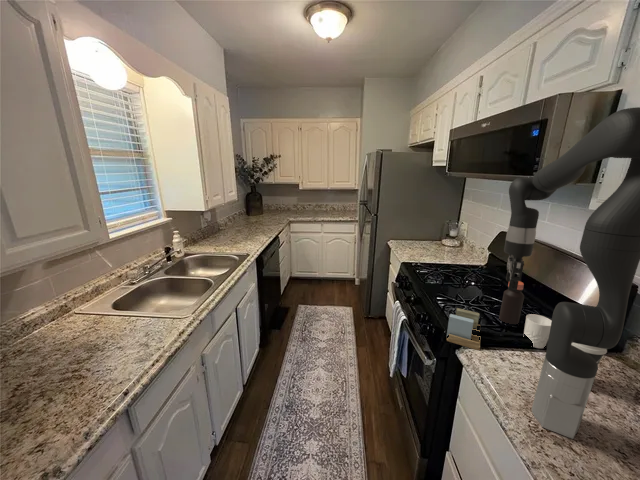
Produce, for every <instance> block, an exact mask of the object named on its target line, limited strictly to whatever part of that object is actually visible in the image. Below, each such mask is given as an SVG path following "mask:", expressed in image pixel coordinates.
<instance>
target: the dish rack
mask: <svg viewBox="0 0 640 480" xmlns="http://www.w3.org/2000/svg"><path fill="white" fill-rule="evenodd" d="M455 315H457V316H461V317H465V318H469V319H473V320H474V321H473V328H476V329H473V328H472V330H476V331H479V332H480V330H481V329H480V330H477V326H480V327H481V324H479V318H480V313H479V312H476V311H472V310H466V309H465V308H464V309H463V308H458V307H456V312H455ZM479 337H480V338H481V336H477V335H473V334H471V339H472V340H469V339H465V338H462V337H458V336H455V335H452V334H449V337H448V338H447V337H446V342H449V343H451V344H452V343H453V344H454V345H455V344H456V345H460V346H462V347H465V348H469V349H472V350H476V351H479V352H481V351H480V349H481V339H480V340H479Z"/></svg>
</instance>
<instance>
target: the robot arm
mask: <svg viewBox="0 0 640 480" xmlns="http://www.w3.org/2000/svg"><path fill="white" fill-rule="evenodd" d="M609 158H612V159H613V158H614V159H630V162H629V166H628V168H627V171H626V173H625V176H624V178H623V180H622V182H621V183H620V185H619V186H618V187H617V189H616V190H615V191H613V193H612V194H611V195H610V196H609V197H607V198H606V199H605V200H604V201H603V202H602V203H601V204H600V205H598V207H597V208H596V209H595V210H594V211H593V212H592V213H591V214H590V216H589V217H588V219H587V220H586V223H585V225H584V229H583V232H582V236H581V240H580V245H579V252H580V255H581V257H582V259H583V261H584V264H585V265H586V267H587V268H588V270H589V272H590V273H591V274H592V276H593V278H594V279H595V282H596V285H597V287H598V302H597V304H596V306H594V305H588V304H581V303H575V302H570V301H561V302H558V303H557V304H556V305H555V307H554V309H553V311H552V312H553V313H552V316H551V321H552V322H551V328H550V334H549V338H548V341H547V344H546V352H545V356H544V359H543V363H542V368H541V371H540V375H539V379H538V382H537V386H536V389H535V393H534V398H533V401H532V407H531V413H532V414H533V416H534V418H535V419H536V420H537V421H538V422H539V424H540V426H541V427H542V428H544V429H546V430H549V431H551V432H554V433H557V434H559V435H561V436H564V437H566V438H569V439H572V440H574V439H575V436H576V435H577V434H578V431H579V429H580V425H581V422H582V419H583V415H584V413H585V410H586V406H587V403H588V401H589V396H590V394H591V390H592V387H593V385H594V382H595V379H596V376H597V373H598V369H599V364H597V362H596V361H595V360H594V359H593V358H592V357H591V356H590V355H589V354H587V353H586V352H584V351H582V350H580V349H578V348H576V347H574V346H573V345H571V344H572V343H578V344H583V345H587V346H592V347H598V348H603V349H607V350H611V349H613V348H615V347H616V346H617V345H618V344H619V341H620V340H621V337H622V334H623V329H624V324H625V320H626V314H627V310H628V303H629V297H630V293H631V290H632V285H633V282H634V279H635V276H636V273H637V269H638V266H639V263H640V106H639V107H636V106H635V107H629V108H622V109H619V110H617V111H615V112H613V113H612V114H609V116H607V117H605V118H604V119H603V120H601V121H600V122H599V123H598V124H596V126H594V127H593V128H592V129H591V130H590V131H589V132H588V133H586V134H585V135H584V136H583V137H581V139H580V140H579V141H577V142H576V143H575V144H574V145H572V147H571V148H570V149H569V150H567V151H566V152H565V153H563V154H562V155H561V156H560V157H558V158H557V159H555V160H553V161H552V162H550V163H548V164H546V166H544V167H542V168H540V169H539V170H537V171H536V172H535V173H534V175H533V177H517V178H515V179H514V180H513V181H512V182H511V183H510V184H509V187H508V196H509V201H510V202H509V204H510V219H509V224H508V229H507V232H506V236H505V243H504V248H503V252H504V253H505V254H508V258H507V263H506V270H507V273H506V276H505V281H506V282H508V283H509V287H508V286H507V289H509V290H512V291H517V287H518V282H519V281H520V282H522V276H523V271H524V266H525V260H524V259H523V258H524V257H527V258H528V257H531V256H532V255H533V251H534V245H535V241H536V234H537V225H538V221H539V217H540V212H539V210H538V209H536V208H532V207H527V205H526V201H543V200H546V199H548V198H550V197H551V196H552V195H553V194H554V193H555V192H556V191H557V190H559V189H561V188H563V187H565V186H567V185H570V184H572V183H573V182H575V181H577V180H578V179H579V178H580V177H581V176H582V175H583V174H584V172H585V170H586V168H587V166H589V165H590V164H593V163H595V162H598V161H602V160H606V159H609ZM516 275H517V276H516Z"/></svg>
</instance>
